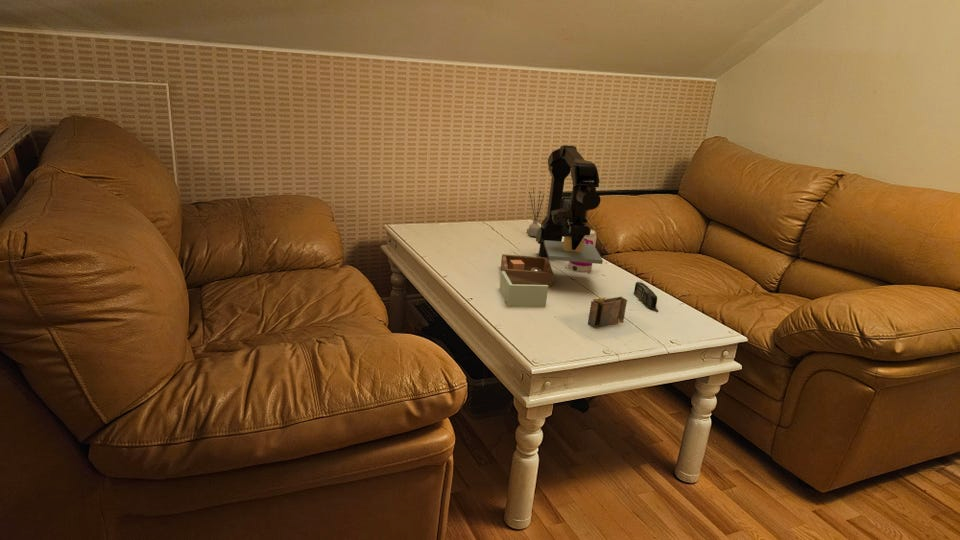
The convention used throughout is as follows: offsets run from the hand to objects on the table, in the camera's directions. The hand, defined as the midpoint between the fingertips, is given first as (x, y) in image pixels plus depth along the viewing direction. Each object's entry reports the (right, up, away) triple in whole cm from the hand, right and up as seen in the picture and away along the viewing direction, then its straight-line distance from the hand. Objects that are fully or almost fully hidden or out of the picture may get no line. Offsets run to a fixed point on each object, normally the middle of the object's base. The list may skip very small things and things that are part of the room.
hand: (572, 248), depth 198 cm
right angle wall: (-18, -17, -10) cm, 26 cm away
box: (-15, -10, +7) cm, 19 cm away
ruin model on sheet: (+6, -23, -22) cm, 33 cm away
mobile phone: (+23, -18, -4) cm, 29 cm away
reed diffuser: (-9, +7, +56) cm, 57 cm away
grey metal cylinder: (-12, -11, +4) cm, 17 cm away
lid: (0, -2, +1) cm, 2 cm away
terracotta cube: (-18, -8, +9) cm, 22 cm away
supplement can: (+5, -8, +20) cm, 22 cm away
